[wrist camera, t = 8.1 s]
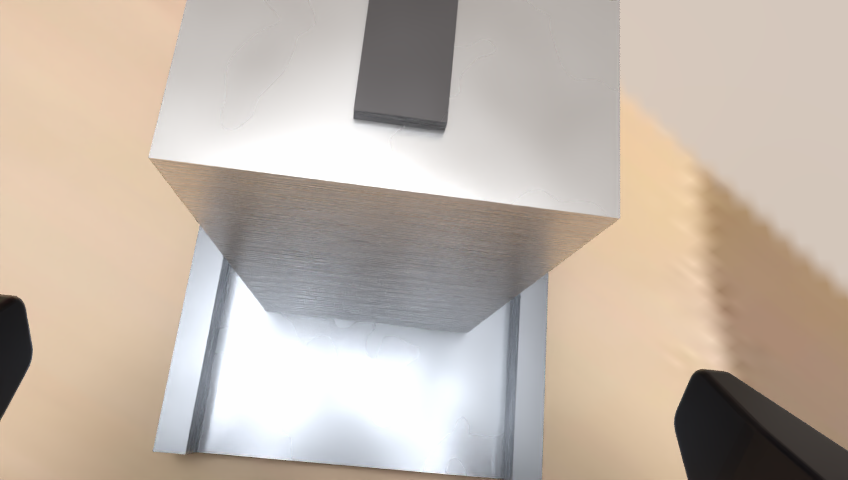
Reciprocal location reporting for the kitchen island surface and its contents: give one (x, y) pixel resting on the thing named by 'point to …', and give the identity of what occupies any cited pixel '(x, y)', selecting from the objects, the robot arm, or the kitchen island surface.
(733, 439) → the robot arm
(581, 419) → the kitchen island surface
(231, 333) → the cradle
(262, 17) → the block
